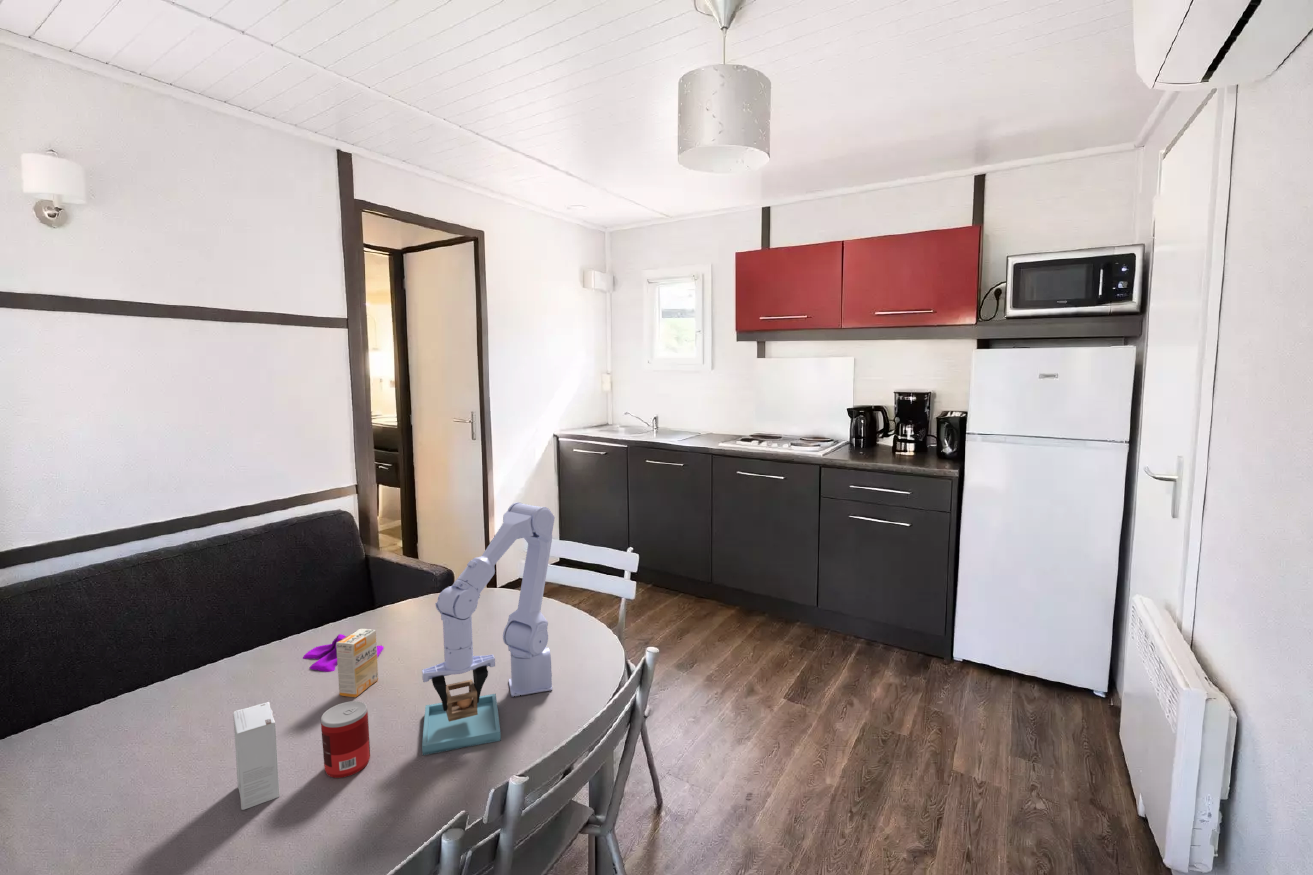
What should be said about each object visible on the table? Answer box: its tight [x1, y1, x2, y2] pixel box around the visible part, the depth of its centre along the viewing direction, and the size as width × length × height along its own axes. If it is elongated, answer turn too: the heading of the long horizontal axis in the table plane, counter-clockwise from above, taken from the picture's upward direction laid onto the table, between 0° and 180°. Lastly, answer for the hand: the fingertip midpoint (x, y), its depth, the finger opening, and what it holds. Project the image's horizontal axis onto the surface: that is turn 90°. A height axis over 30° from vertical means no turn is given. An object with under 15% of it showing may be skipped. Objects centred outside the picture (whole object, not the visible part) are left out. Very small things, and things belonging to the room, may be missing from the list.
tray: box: [421, 693, 501, 756], centre depth 128 cm, size 15×15×2 cm
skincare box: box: [232, 701, 280, 811], centre depth 108 cm, size 8×6×15 cm
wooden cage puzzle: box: [446, 679, 478, 722], centre depth 128 cm, size 6×6×5 cm
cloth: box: [302, 633, 385, 673], centre depth 161 cm, size 22×19×6 cm
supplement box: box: [336, 628, 379, 698], centre depth 143 cm, size 8×5×13 cm, turn 168°
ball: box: [457, 698, 472, 709], centre depth 128 cm, size 3×3×3 cm
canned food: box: [320, 700, 371, 779], centre depth 115 cm, size 8×8×11 cm
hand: (460, 704), depth 128 cm, fingers closed on wooden cage puzzle, 6 cm apart
